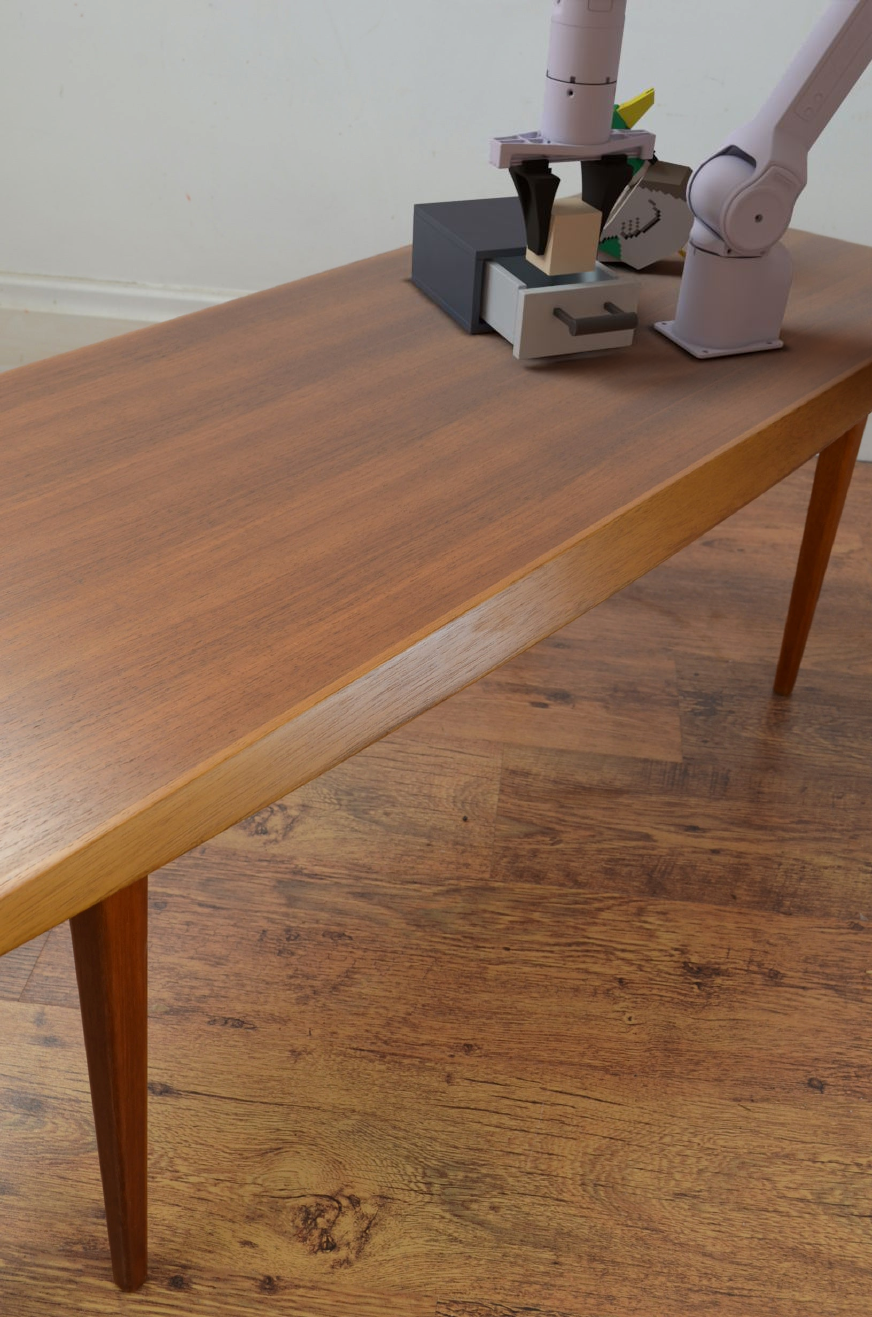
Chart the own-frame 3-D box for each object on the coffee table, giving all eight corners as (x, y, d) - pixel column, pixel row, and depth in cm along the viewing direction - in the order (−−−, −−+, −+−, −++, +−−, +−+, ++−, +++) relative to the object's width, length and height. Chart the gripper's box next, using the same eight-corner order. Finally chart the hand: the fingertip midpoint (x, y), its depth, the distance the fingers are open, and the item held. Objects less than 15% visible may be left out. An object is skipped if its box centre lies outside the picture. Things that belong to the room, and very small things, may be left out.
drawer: (658, 364, 100) (669, 299, 97) (542, 380, 96) (549, 313, 93) (561, 293, 113) (568, 233, 110) (455, 305, 109) (459, 243, 106)
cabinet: (589, 319, 110) (599, 239, 106) (470, 334, 106) (475, 251, 102) (521, 269, 121) (528, 194, 116) (411, 281, 117) (413, 203, 112)
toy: (770, 214, 117) (632, 67, 111) (647, 335, 124) (513, 203, 119) (761, 202, 122) (630, 61, 116) (644, 318, 130) (516, 191, 124)
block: (570, 254, 103) (576, 197, 100) (594, 271, 100) (602, 212, 97) (525, 258, 102) (530, 200, 99) (549, 275, 99) (555, 216, 96)
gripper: (633, 64, 97) (611, 228, 105) (478, 69, 92) (467, 241, 101) (679, 82, 92) (651, 253, 100) (517, 88, 87) (502, 267, 95)
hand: (562, 249), depth 100 cm, fingers closed on block, 4 cm apart
